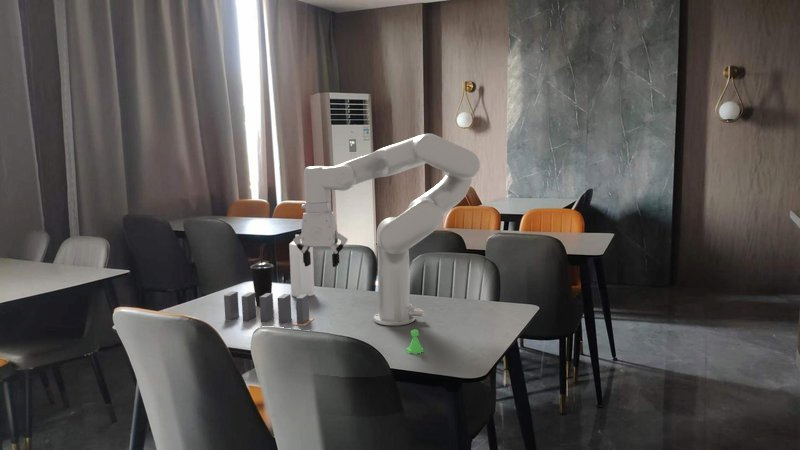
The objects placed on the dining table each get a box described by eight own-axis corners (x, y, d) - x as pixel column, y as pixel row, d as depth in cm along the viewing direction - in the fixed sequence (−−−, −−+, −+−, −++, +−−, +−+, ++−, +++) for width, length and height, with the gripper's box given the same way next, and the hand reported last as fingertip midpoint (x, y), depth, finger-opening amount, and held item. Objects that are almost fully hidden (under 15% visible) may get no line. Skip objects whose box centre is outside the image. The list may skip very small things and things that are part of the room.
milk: (301, 298, 213) (299, 236, 210) (291, 295, 217) (288, 235, 214) (315, 294, 217) (312, 234, 214) (304, 292, 221) (301, 233, 218)
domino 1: (239, 316, 192) (237, 291, 191) (231, 320, 187) (229, 295, 186) (233, 315, 192) (231, 291, 191) (225, 320, 187) (223, 295, 186)
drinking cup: (269, 308, 200) (266, 249, 197) (248, 307, 201) (245, 249, 199) (278, 302, 207) (276, 245, 205) (258, 301, 209) (255, 245, 206)
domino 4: (291, 319, 188) (290, 294, 187) (284, 323, 183) (283, 298, 182) (285, 318, 188) (284, 293, 187) (278, 323, 183) (277, 297, 182)
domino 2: (256, 317, 190) (255, 292, 189) (248, 321, 186) (247, 296, 184) (250, 316, 191) (249, 292, 190) (242, 321, 186) (241, 296, 185)
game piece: (403, 351, 157) (402, 329, 156) (414, 347, 160) (414, 325, 159) (415, 355, 154) (414, 332, 153) (426, 351, 157) (426, 328, 156)
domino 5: (309, 319, 186) (308, 294, 185) (303, 324, 181) (302, 298, 180) (303, 319, 187) (302, 293, 186) (296, 323, 182) (295, 297, 181)
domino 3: (273, 318, 189) (272, 293, 188) (266, 322, 184) (265, 297, 183) (267, 317, 189) (266, 293, 188) (260, 322, 185) (259, 297, 184)
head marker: (313, 319, 187) (313, 318, 187) (305, 325, 180) (305, 325, 180) (301, 318, 188) (301, 317, 188) (292, 325, 181) (292, 324, 181)
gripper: (286, 209, 176) (289, 268, 179) (342, 209, 172) (345, 269, 175) (296, 206, 183) (299, 262, 186) (350, 206, 179) (353, 263, 182)
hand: (321, 265), depth 180 cm, fingers open, 8 cm apart
